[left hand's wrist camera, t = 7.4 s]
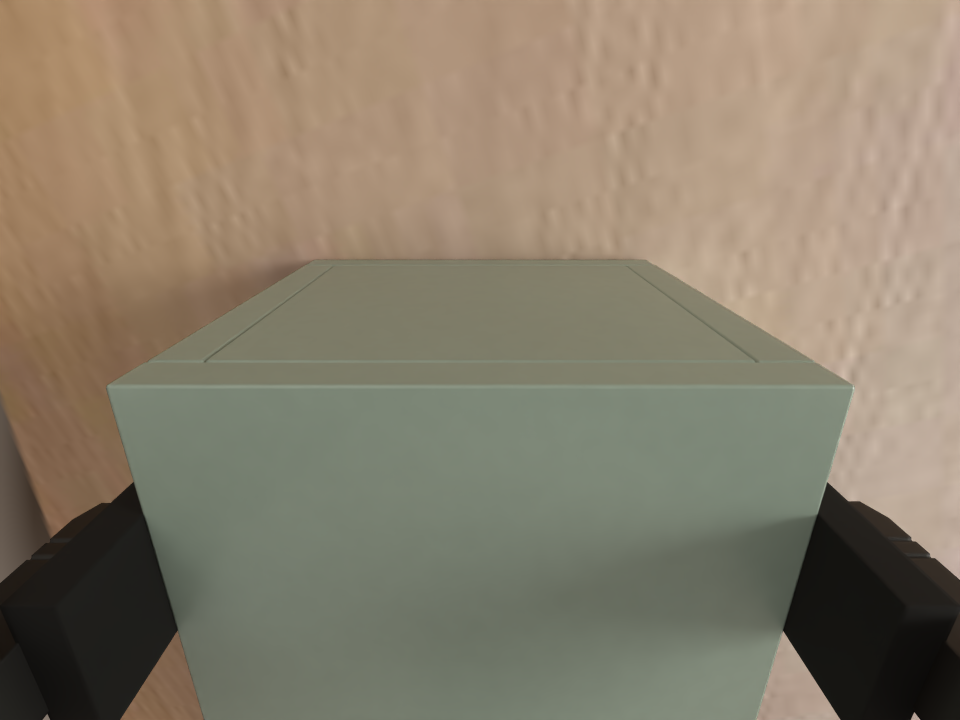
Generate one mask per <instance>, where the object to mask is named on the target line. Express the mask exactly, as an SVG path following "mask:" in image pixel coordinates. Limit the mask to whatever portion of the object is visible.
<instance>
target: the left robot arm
mask: <svg viewBox="0 0 960 720" xmlns="http://www.w3.org/2000/svg"><path fill="white" fill-rule="evenodd" d="M177 631H178V630H177V626H176V623H175V620H174V616H173V613H172V610H171V606H170V603H169V599H168V596H167V593H166V589H165V586H164V582H163V579H162V576H161V572H160V569H159V566H158V562H157V559H156V555H155V552H154V549H153V545H152V542H151V538H150V535H149V532H148V528H147V525H146V522H145V518H144V515H143V511H142V508H141V505H140V501H139V498H138V494H137V491H136V488H135V484H134V482H133V483H132V484H131V485H130V486H129V487H128V488H126V489H125V490H124V491H123V492H122V493H121V494H120V495H119V496H118V497H117V498H116V499H115V500H113V501H112V502H111V503H101V504H99V505H97V506H96V507H94V508H92V509H90V510H89V511H87V512H85V513H83V514H82V515H80V516H78V517H76V518H75V519H73V520H72V521H70V522H69V523H68V524H67V525H66V526H65V527H64V528H62V529H61V530H60V531H59V532H58V533H57V534H56V535H55V536H53V537H52V538H51V539H50V543H45V544H44V545H43V546H42V547H41V548H40V549H39V550H38V551H36V552H35V553H34V554H33V555H32V558H31V560H26V561H25V562H24V563H23V564H22V565H20V566H19V567H18V568H17V569H16V570H15V571H14V572H12V573H11V574H10V575H9V576H8V577H7V578H6V579H4V580H3V581H2V582H1V583H0V720H43V718H44V717H45V716H46V715H47V714H48V716H49V718H50V720H120V719H121V717H122V716H123V714H124V713H125V711H126V710H127V708H128V707H129V705H130V703H131V702H132V700H133V699H134V697H135V696H136V694H137V693H138V691H139V689H140V688H141V686H142V685H143V683H144V682H145V680H146V679H147V677H148V676H149V674H150V672H151V671H152V669H153V668H154V666H155V665H156V663H157V662H158V660H159V658H160V657H161V655H162V654H163V652H164V651H165V649H166V648H167V646H168V645H169V643H170V641H171V640H172V638H173V637H174V635H175V634H176V632H177ZM783 631H784V633H785V634H786V636H787V637H788V639H789V641H790V642H791V644H792V645H793V647H794V648H795V650H796V651H797V653H798V654H799V656H800V658H801V659H802V661H803V662H804V664H805V665H806V667H807V668H808V670H809V672H810V673H811V675H812V676H813V678H814V679H815V681H816V682H817V684H818V686H819V687H820V689H821V690H822V692H823V693H824V695H825V696H826V698H827V699H828V701H829V703H830V704H831V706H832V707H833V709H834V710H835V712H836V713H837V715H838V717H839V718H840V720H911V718H912V716H913V713H914V712H915V713H916V715H917V716H918V717H919V719H920V720H960V580H959V579H958V578H957V577H956V576H955V575H954V574H952V573H951V572H950V571H949V570H948V569H947V568H945V567H944V566H943V565H942V564H941V563H940V562H939V561H937V560H936V559H935V558H931V557H930V554H929V553H928V552H927V551H926V550H925V549H924V548H923V547H921V546H920V545H919V544H918V543H917V542H912V540H911V537H910V536H909V535H908V534H907V533H905V532H904V531H903V530H902V529H901V528H900V527H899V526H897V525H896V524H895V523H894V522H893V521H892V520H891V519H889V518H888V517H886V516H884V515H883V514H881V513H879V512H877V511H876V510H874V509H872V508H870V507H869V506H867V505H865V504H863V503H861V502H860V501H847V500H846V499H845V498H844V497H843V496H842V495H841V494H840V493H839V492H837V491H836V490H835V489H834V488H833V487H832V486H831V485H830V484H829V483H828V482H827V484H826V487H825V491H824V494H823V498H822V501H821V504H820V508H819V511H818V514H817V518H816V521H815V524H814V528H813V531H812V535H811V538H810V541H809V545H808V548H807V551H806V555H805V558H804V561H803V565H802V568H801V572H800V575H799V578H798V582H797V585H796V588H795V592H794V595H793V599H792V602H791V605H790V609H789V612H788V615H787V619H786V622H785V625H784V629H783Z"/></svg>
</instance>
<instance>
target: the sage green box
mask: <svg viewBox="0 0 960 720" xmlns="http://www.w3.org/2000/svg"><path fill="white" fill-rule="evenodd" d="M106 390H107V393H108V396H109V400H110V403H111V406H112V410H113V413H114V417H115V420H116V423H117V427H118V430H119V434H120V437H121V440H122V444H123V447H124V450H125V454H126V457H127V461H128V464H129V467H130V471H131V474H132V478H133V481H134V484H135V488H136V491H137V494H138V498H139V501H140V505H141V508H142V511H143V515H144V518H145V522H146V525H147V528H148V532H149V535H150V538H151V542H152V545H153V549H154V552H155V555H156V559H157V562H158V566H159V569H160V572H161V576H162V579H163V582H164V586H165V589H166V593H167V596H168V599H169V603H170V606H171V610H172V613H173V616H174V620H175V623H176V626H177V630H178V633H179V637H180V640H181V643H182V647H183V650H184V653H185V657H186V660H187V664H188V667H189V670H190V674H191V677H192V681H193V684H194V687H195V691H196V694H197V697H198V701H199V704H200V708H201V711H202V714H203V718H204V720H757V716H758V713H759V710H760V706H761V703H762V700H763V696H764V693H765V689H766V686H767V683H768V679H769V676H770V673H771V669H772V666H773V662H774V659H775V656H776V652H777V649H778V646H779V642H780V639H781V636H782V632H783V629H784V625H785V622H786V619H787V615H788V612H789V609H790V605H791V602H792V599H793V595H794V592H795V588H796V585H797V582H798V578H799V575H800V572H801V568H802V565H803V561H804V558H805V555H806V551H807V548H808V545H809V541H810V538H811V535H812V531H813V528H814V524H815V521H816V518H817V514H818V511H819V508H820V504H821V501H822V498H823V494H824V491H825V487H826V484H827V481H828V477H829V474H830V471H831V467H832V464H833V460H834V457H835V454H836V450H837V447H838V444H839V440H840V437H841V434H842V430H843V427H844V423H845V420H846V417H847V413H848V410H849V407H850V403H851V400H852V396H853V393H854V390H855V387H854V385H853V384H851V383H849V382H848V381H846V380H844V379H843V378H841V377H839V376H838V375H836V374H834V373H833V372H831V371H829V370H828V369H826V368H825V367H823V366H821V365H820V364H818V363H815V361H814V360H812V359H810V358H809V357H807V356H805V355H804V354H802V353H800V352H799V351H797V350H795V349H794V348H792V347H790V346H789V345H787V344H785V343H784V342H782V341H780V340H779V339H777V338H775V337H774V336H772V335H770V334H769V333H767V332H766V331H764V330H762V329H761V328H759V327H757V326H756V325H754V324H752V323H751V322H749V321H747V320H746V319H744V318H742V317H741V316H739V315H737V314H736V313H734V312H732V311H731V310H729V309H727V308H726V307H724V306H722V305H721V304H719V303H718V302H716V301H714V300H713V299H711V298H709V297H708V296H706V295H704V294H703V293H701V292H699V291H698V290H696V289H694V288H693V287H691V286H689V285H688V284H686V283H684V282H683V281H681V280H679V279H678V278H676V277H674V276H673V275H671V274H670V273H668V272H666V271H665V270H663V269H661V268H660V267H658V266H656V265H653V264H652V263H650V262H649V261H647V260H313V261H312V262H310V263H308V264H307V265H305V266H303V267H301V268H300V269H298V270H297V271H295V272H293V273H292V274H290V275H288V276H287V277H285V278H283V279H282V280H280V281H278V282H277V283H275V284H274V285H272V286H270V287H269V288H267V289H265V290H264V291H262V292H260V293H259V294H257V295H255V296H254V297H252V298H251V299H249V300H247V301H246V302H244V303H242V304H241V305H239V306H237V307H236V308H234V309H232V310H231V311H229V312H227V313H226V314H224V315H223V316H221V317H219V318H218V319H216V320H214V321H213V322H211V323H209V324H208V325H206V326H204V327H203V328H201V329H200V330H198V331H196V332H195V333H193V334H191V335H190V336H188V337H186V338H185V339H183V340H181V341H180V342H178V343H176V344H175V345H173V346H172V347H170V348H168V349H167V350H165V351H163V352H162V353H160V354H158V355H157V356H155V357H153V358H152V359H150V360H149V361H148V362H145V363H143V364H141V365H139V366H138V367H136V368H134V369H133V370H131V371H130V372H128V373H126V374H125V375H123V376H121V377H120V378H118V379H116V380H115V381H113V382H111V383H110V384H108V385H107V387H106Z"/></svg>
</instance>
